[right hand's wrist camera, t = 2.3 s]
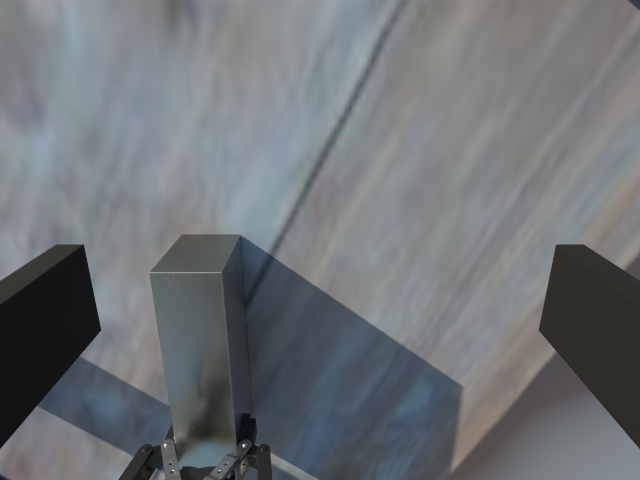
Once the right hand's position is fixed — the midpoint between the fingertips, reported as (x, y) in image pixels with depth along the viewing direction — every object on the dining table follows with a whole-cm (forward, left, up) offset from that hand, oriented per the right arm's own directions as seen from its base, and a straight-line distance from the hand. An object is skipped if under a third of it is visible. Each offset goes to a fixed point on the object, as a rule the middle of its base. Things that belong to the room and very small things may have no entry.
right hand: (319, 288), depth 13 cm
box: (+11, +20, -29) cm, 37 cm away
